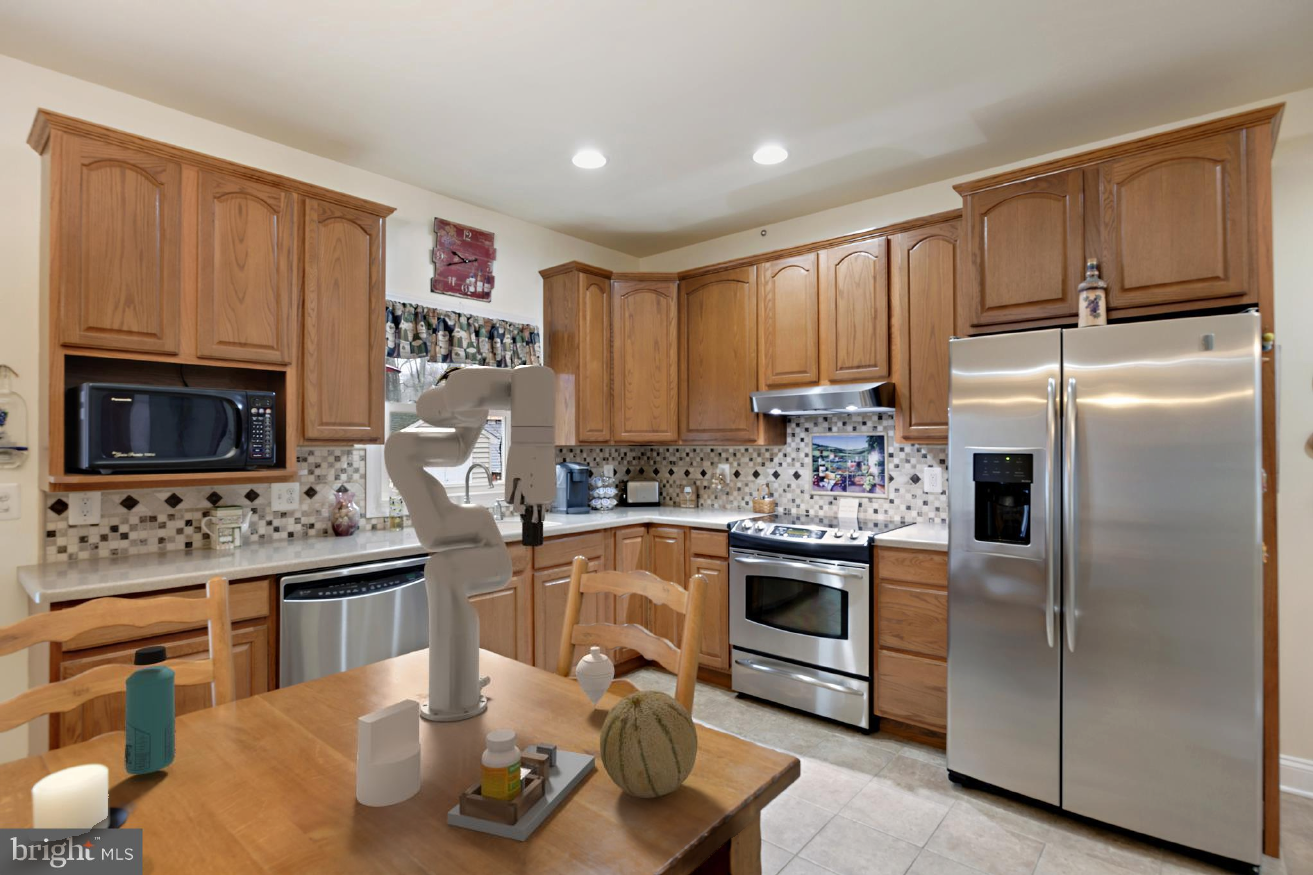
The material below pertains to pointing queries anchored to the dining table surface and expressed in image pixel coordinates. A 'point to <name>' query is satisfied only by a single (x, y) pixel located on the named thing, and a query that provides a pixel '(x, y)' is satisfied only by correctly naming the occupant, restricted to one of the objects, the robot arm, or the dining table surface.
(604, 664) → the spinning top
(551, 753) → the pin
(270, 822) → the dining table surface
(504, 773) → the supplement bottle
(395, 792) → the cylinder with rectangular tab
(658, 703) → the cantaloupe
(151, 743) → the beverage bottle
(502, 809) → the socket
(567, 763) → the dock board
